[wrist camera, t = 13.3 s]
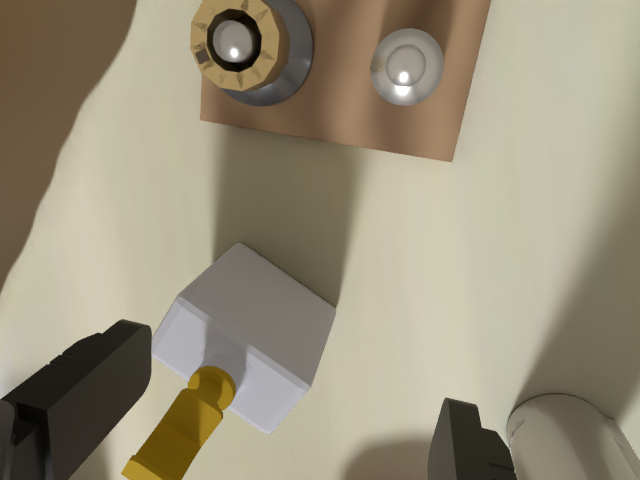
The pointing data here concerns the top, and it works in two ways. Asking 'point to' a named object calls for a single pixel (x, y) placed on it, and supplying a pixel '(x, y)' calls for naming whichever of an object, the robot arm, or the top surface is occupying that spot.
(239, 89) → the brass ring
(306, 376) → the soap bottle
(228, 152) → the top surface
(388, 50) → the stepped silver cylinder
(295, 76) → the graphite hub
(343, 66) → the walnut board
